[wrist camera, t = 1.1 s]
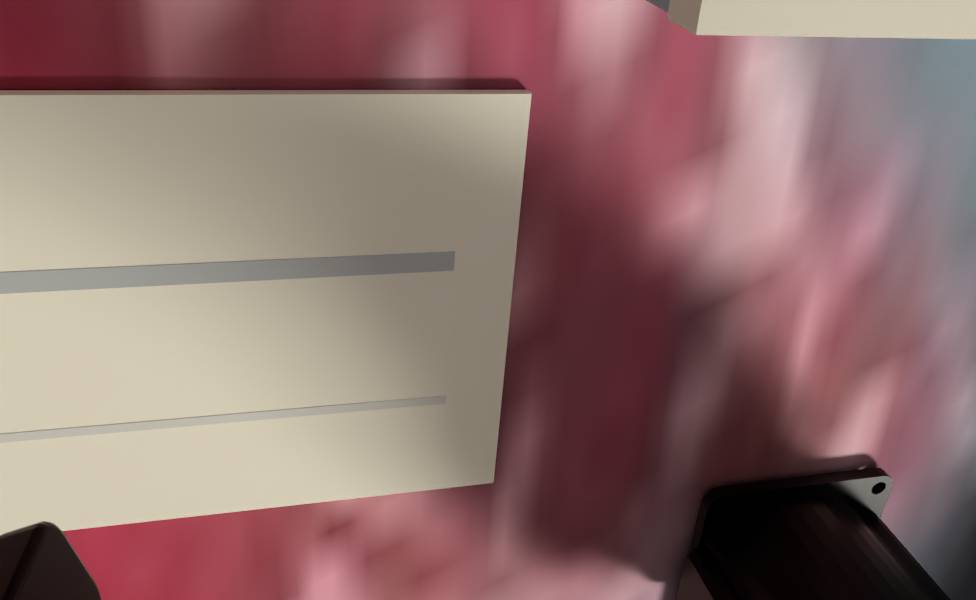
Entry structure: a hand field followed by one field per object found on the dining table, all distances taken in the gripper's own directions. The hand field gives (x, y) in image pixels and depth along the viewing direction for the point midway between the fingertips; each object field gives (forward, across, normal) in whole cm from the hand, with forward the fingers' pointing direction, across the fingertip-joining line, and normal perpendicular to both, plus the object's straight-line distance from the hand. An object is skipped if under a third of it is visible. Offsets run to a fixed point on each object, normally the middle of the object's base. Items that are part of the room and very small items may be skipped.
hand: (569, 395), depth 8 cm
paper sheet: (+12, +6, +5) cm, 15 cm away
